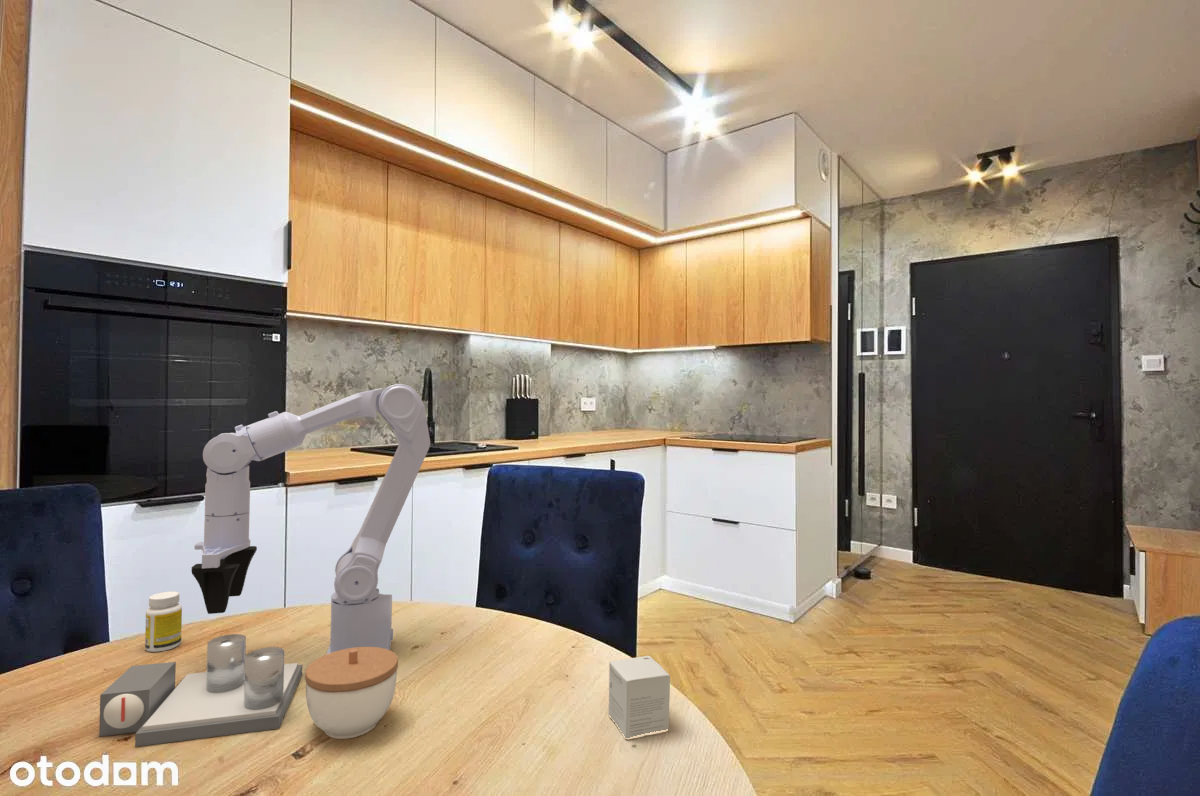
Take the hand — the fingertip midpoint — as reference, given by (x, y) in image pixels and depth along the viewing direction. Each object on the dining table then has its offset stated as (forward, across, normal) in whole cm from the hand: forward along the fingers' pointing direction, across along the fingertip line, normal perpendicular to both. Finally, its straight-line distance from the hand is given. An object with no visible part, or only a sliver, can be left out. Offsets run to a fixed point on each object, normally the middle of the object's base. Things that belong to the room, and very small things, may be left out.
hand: (225, 603), depth 88 cm
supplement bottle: (+10, -12, -12) cm, 20 cm away
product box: (+10, +30, +55) cm, 63 cm away
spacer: (+8, +10, +3) cm, 13 cm away
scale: (+10, +12, +1) cm, 16 cm away
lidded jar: (+10, +21, +20) cm, 31 cm away
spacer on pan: (+8, +16, +9) cm, 20 cm away
